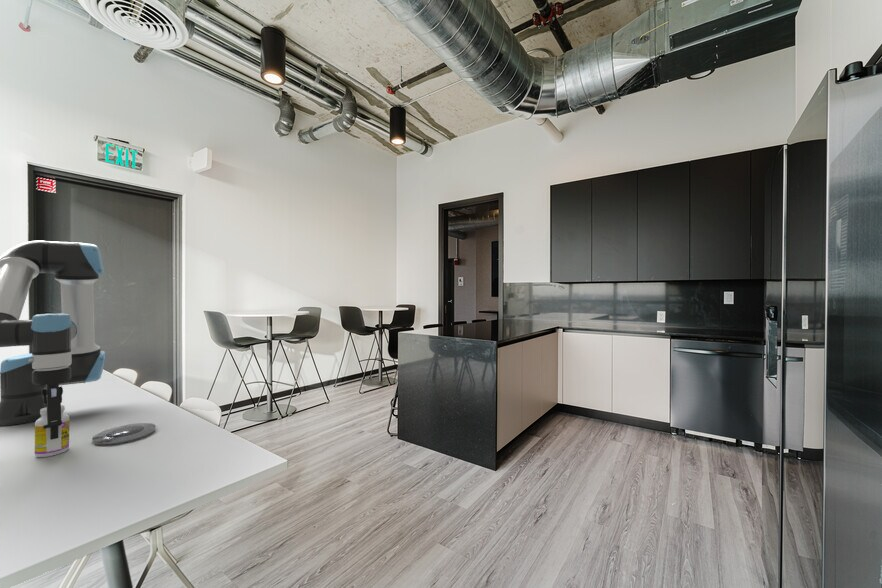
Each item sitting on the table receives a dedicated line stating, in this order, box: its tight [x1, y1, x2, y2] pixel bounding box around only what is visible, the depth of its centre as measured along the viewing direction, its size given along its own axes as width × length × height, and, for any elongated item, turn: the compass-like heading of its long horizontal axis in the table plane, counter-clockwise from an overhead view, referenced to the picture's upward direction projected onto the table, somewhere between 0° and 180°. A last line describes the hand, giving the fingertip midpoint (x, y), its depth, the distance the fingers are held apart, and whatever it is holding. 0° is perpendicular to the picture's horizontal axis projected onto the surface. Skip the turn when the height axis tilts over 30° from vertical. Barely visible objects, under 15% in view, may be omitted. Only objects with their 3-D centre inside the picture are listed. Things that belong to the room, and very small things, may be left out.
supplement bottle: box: [34, 404, 70, 458], centre depth 100 cm, size 7×7×13 cm
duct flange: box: [91, 422, 157, 447], centre depth 112 cm, size 15×15×1 cm
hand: (52, 443), depth 100 cm, fingers open, 12 cm apart
